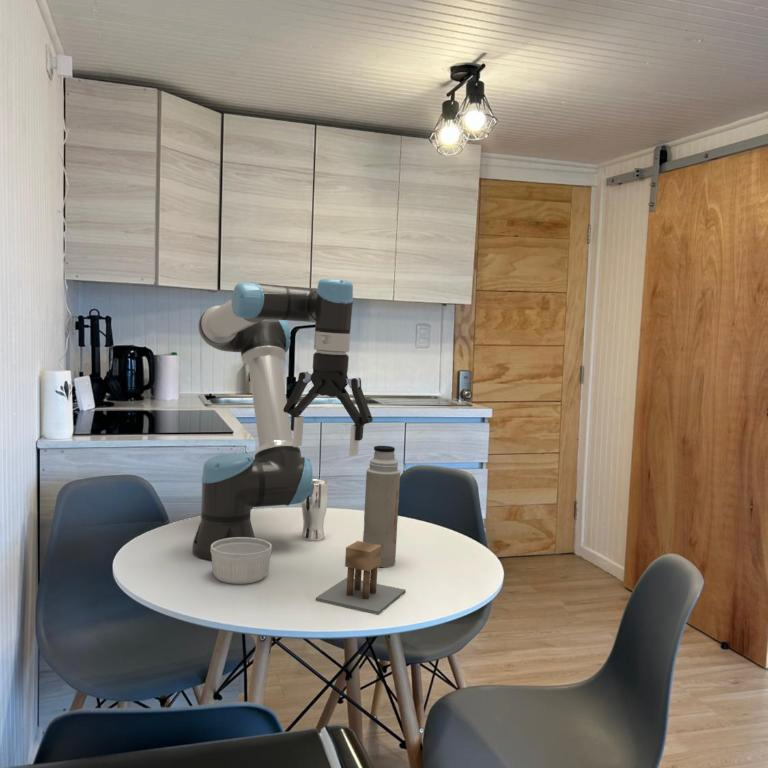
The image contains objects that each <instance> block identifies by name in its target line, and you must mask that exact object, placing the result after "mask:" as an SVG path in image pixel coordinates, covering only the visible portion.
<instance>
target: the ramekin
mask: <svg viewBox="0 0 768 768" xmlns="http://www.w3.org/2000/svg"><path fill="white" fill-rule="evenodd" d="M210 552H211V554H212V560H211V564H212V566H211V567H212V572H213V575H214V576H215V578H216V579H217V580H218V581H220V582H223V583H226V584H232V585H244V584H245V585H246V584H253V583H257V582H259V581H261V580H263V579H264V578H265V577H266V575H267V574H268V571H269V567H270V566H269V565H270V559H271V554H272V552H273V545H272V544H271V542H269V541H268V540H265V539H262V538H256V537H255V538H249V537H234V538H226V539H221V540H218V541H215V542H214V543H212V545H211V549H210Z"/></svg>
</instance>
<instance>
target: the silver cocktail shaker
mask: <svg viewBox="0 0 768 768" xmlns="http://www.w3.org/2000/svg"><path fill="white" fill-rule="evenodd" d="M328 503H329V482H328V480H325V479H317V478H312V485H311V489H310V492H309V494H308V496H307V498H306V499H305V500H304V501H303V502H302V503H301V511H302V512H301V513H302V520H303V525H302V530H301V531H302V532H301V536H300V537H301V539H302V538H303V540H304V539H305V540H304V541H308V540H311V541H310V542H319V540H320V541H323V540H324V539H325V531H324V525H325V524H324V523H325V519H326V514H327V513H326V512H327V509H328Z"/></svg>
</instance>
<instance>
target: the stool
mask: <svg viewBox="0 0 768 768" xmlns="http://www.w3.org/2000/svg"><path fill="white" fill-rule="evenodd" d="M344 561H345V562H344V567H346V568H347V573H346V574H347V577H346V578H347V592H346V595H348V596H352V595H353V588H354V590H361V581H363V591H362V598H363V599H369V589H370V593H371V594H375V593H376V588H377V584H378V583H377V581H378V569H379V568H378V565H380V562H381V545H377V544H372V543H366V542H363V541H360V540H356V541H355V542H353V543H352V544H350V545H348V546H346V547H345V560H344ZM362 571H363V573H362ZM362 574H363V575H362ZM354 579H355V580H354Z"/></svg>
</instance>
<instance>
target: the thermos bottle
mask: <svg viewBox="0 0 768 768" xmlns="http://www.w3.org/2000/svg"><path fill="white" fill-rule="evenodd" d="M395 450H396V449H395V447H394V446H390V445H375V446H373V451H374V452H373V453H374V455H373V458H371V459H370V460H369V463H368V465H369V468H366V473H365V474H366V475H365V476H366V477H365V494H364V495H365V496H364V512H363V513H364V514H363V518H364V519H363V524H364V525H363V534H362V542H366V543H372V544H377V545H381V562H380V565H378V567H386V568H390V566H391V567H393V566H395V564H396V557H397V556H396V555H397V536H398V519H399V516H398V515H399V501H400V486H401V485H400V483H401V480H400V479H401V471H400V469H398V467H399V464H398V463H399V461H397V459H395V456H396V455H395Z"/></svg>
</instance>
